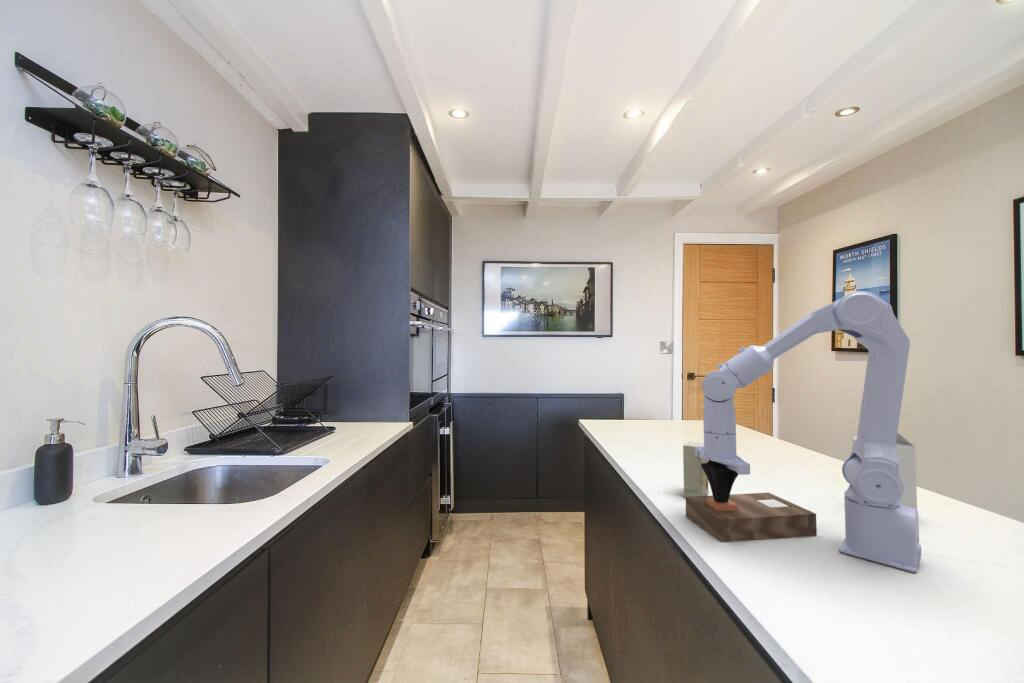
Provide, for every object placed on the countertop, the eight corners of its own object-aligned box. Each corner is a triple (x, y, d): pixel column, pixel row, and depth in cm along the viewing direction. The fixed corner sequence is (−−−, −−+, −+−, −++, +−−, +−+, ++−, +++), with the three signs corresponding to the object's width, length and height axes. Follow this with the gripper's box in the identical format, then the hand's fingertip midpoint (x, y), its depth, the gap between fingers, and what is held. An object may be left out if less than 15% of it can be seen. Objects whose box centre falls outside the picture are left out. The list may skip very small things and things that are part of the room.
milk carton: (889, 508, 91) (886, 420, 91) (918, 521, 84) (914, 426, 84) (854, 507, 91) (851, 420, 92) (879, 520, 84) (876, 425, 85)
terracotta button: (724, 517, 84) (724, 497, 84) (737, 525, 80) (737, 504, 80) (706, 518, 83) (705, 498, 83) (718, 526, 79) (717, 505, 79)
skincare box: (703, 501, 96) (701, 447, 96) (683, 497, 98) (682, 445, 99) (709, 493, 101) (708, 442, 101) (690, 490, 104) (689, 440, 104)
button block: (769, 511, 89) (768, 492, 89) (816, 535, 77) (816, 513, 78) (685, 516, 87) (685, 496, 87) (721, 542, 75) (721, 519, 75)
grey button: (774, 519, 85) (774, 499, 85) (789, 527, 81) (789, 506, 81) (756, 520, 85) (756, 500, 85) (771, 528, 81) (770, 507, 81)
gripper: (681, 426, 89) (682, 490, 88) (723, 440, 74) (725, 517, 74) (711, 425, 90) (713, 488, 89) (760, 438, 75) (761, 514, 75)
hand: (721, 501), depth 82 cm, fingers closed, pressing on terracotta button
